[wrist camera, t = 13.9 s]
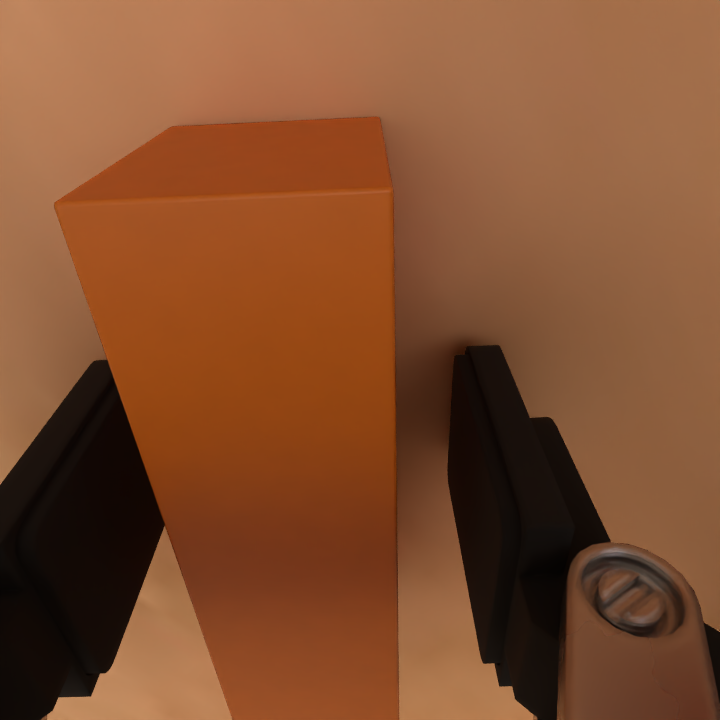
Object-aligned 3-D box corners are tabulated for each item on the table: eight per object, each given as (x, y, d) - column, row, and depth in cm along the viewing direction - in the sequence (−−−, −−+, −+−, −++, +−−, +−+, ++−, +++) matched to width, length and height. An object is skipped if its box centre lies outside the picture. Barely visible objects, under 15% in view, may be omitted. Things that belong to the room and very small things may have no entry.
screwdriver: (169, 125, 8) (49, 201, 5) (379, 115, 8) (393, 186, 5) (300, 734, 18) (289, 884, 15) (393, 732, 18) (401, 882, 15)
